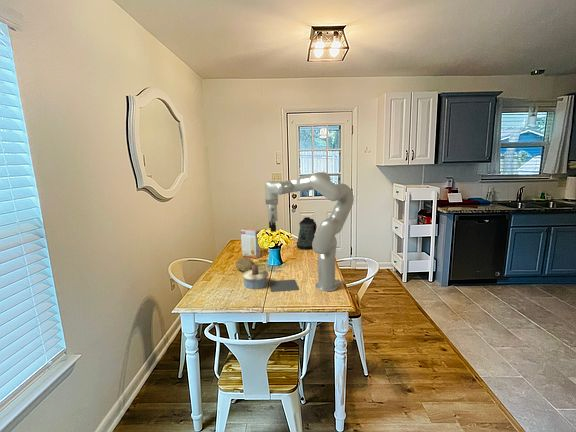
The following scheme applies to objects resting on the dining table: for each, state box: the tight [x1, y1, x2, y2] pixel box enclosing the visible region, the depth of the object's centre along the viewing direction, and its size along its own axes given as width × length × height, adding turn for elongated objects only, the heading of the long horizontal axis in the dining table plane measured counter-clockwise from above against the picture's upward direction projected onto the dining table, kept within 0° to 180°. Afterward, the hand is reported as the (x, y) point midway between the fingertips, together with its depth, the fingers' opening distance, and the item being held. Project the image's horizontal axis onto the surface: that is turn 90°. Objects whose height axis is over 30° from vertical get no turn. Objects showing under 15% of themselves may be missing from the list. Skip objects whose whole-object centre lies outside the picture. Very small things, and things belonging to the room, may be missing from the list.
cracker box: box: [240, 228, 261, 259], centre depth 237 cm, size 14×6×21 cm, turn 58°
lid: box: [241, 264, 269, 280], centre depth 182 cm, size 15×15×6 cm
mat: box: [268, 279, 300, 293], centre depth 181 cm, size 16×16×1 cm
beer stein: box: [296, 216, 318, 251], centre depth 261 cm, size 16×19×25 cm
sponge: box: [235, 256, 254, 273], centre depth 211 cm, size 13×8×20 cm
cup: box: [243, 277, 268, 290], centre depth 183 cm, size 13×13×6 cm
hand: (272, 229), depth 191 cm, fingers open, 9 cm apart
